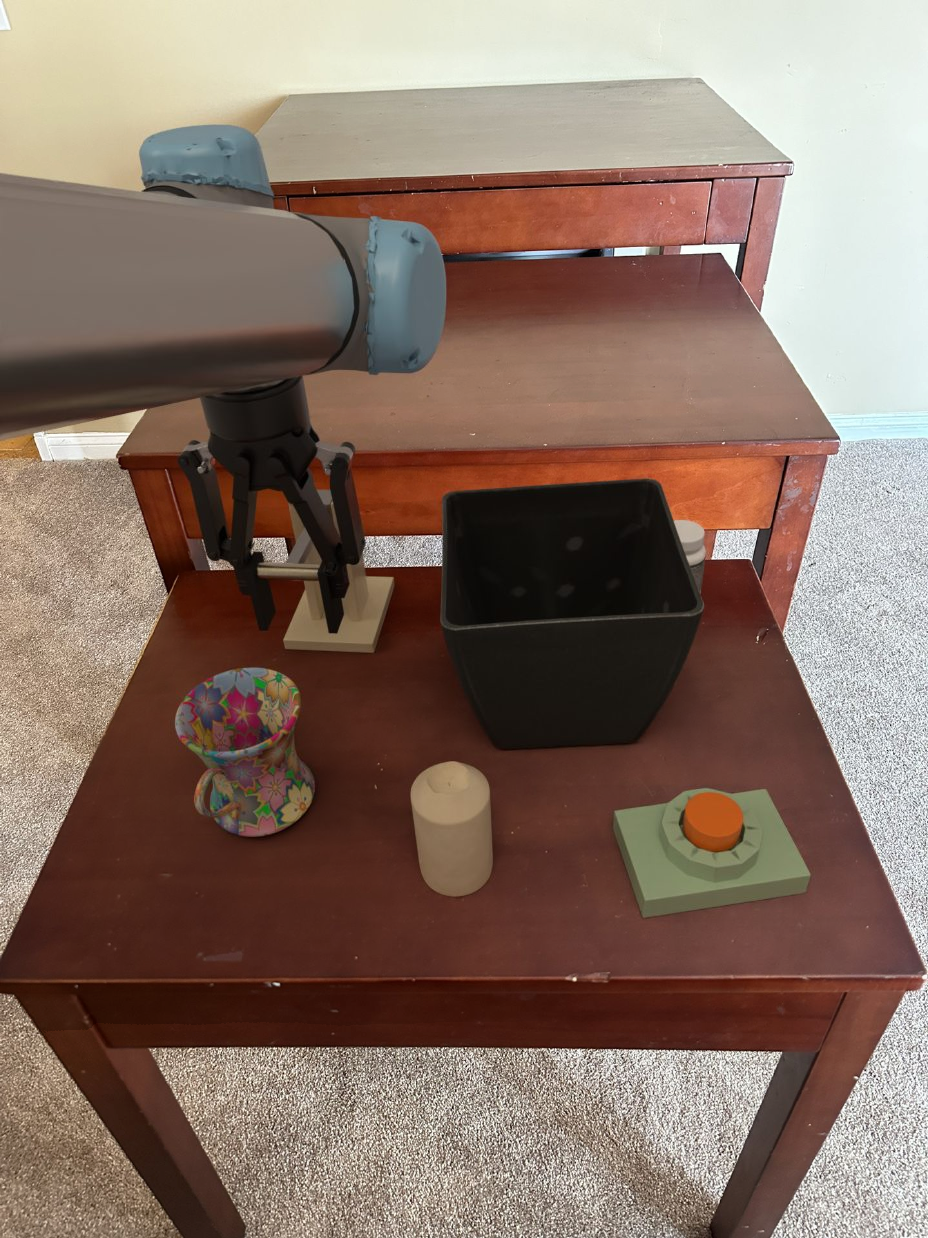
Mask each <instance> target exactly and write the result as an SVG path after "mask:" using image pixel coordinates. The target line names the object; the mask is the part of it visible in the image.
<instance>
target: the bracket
mask: <svg viewBox="0 0 928 1238" xmlns="http://www.w3.org/2000/svg"><path fill="white" fill-rule="evenodd" d="M287 504H288V509H289V515H290V519H291V524H292V530H293V535H294V539H295V543H296V542H297V540H298V538H299V537H300V535H301V533H302V531H303V529H304V525H303V523H302V521H301V519H300V517H299V516H298V514H297V512H296V510H295V508H294V506H293V505H292V504H289V503H288V502H287ZM331 509H332V515H333V521H334V526H335V528H336V530H337V532H338V534H339V536H340V533H339V528H338V524H337V519H336V514H335V510H334V505H333V501H332V503H331ZM321 562H322V559H321V558H320V556H319V554H318V552H317V550H316V548H315V546H314V545H313V547H312V549H311V551H310V553H309V555H308V557H307V559H306V561H305V563H304V564H321ZM346 565H347V571H348V577H349V583H350V584H349V587H348V590H347V593H346V595H345V598H342V604H343V610H344V616H343V619H342V622H341V624H340V627H339V630H338V633H337V634H333V633H329V632H328V627H327V622H326V616H325V611H324V606H323V601H322V595H321V590H320V585H319V581H303V584H304V591H303V593H302V596H301V598H300V600H299V602H298V604H297V607H296V609H295V612H294V614H293V616H292V619H291V621H290V623H289V626H288V627H287V630H286V633H285V635H284V637H283V639H282V641H283V646H284V649H285V650H300V651H318V652H319V651H321V652H340V653H341V652H344V653H345V652H346V653H363V654H364V653H365V654H368V653H369V654H374V653H375V651H376V648H377V645H378V641H379V637H380V635H381V632H382V629H383V625H384V621H385V619H386V615H387V612H388V609H389V605H390V603H391V600H392V599H391V598H392V596H393V593H394V589H395V579H394V576H368V575H366V567H365V560H364V552H363V553H362V556H361V559H360V561H359V563H358V564H357V565H350V564H346Z"/></svg>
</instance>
